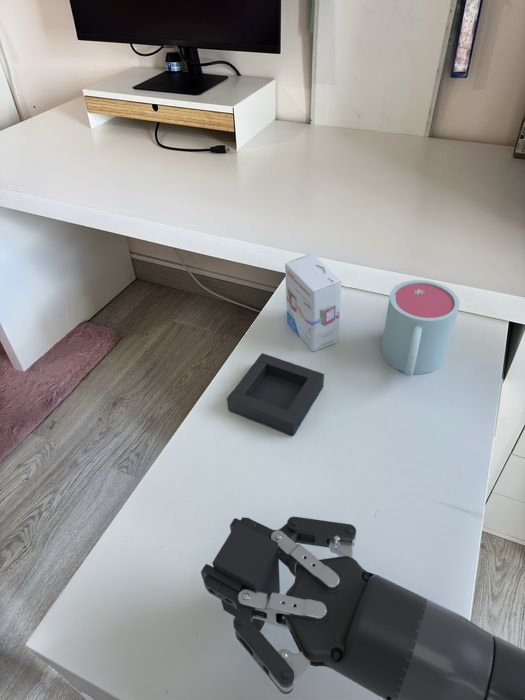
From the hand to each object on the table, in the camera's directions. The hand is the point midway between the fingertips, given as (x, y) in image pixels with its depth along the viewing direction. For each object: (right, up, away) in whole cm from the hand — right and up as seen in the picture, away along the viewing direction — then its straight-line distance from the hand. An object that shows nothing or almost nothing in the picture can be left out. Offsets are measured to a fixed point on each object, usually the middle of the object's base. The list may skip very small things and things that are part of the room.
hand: (219, 549), depth 44 cm
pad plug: (+3, -7, +4) cm, 8 cm away
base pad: (+6, +10, +27) cm, 29 cm away
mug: (+26, +15, +31) cm, 43 cm away
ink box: (+12, +20, +37) cm, 44 cm away
